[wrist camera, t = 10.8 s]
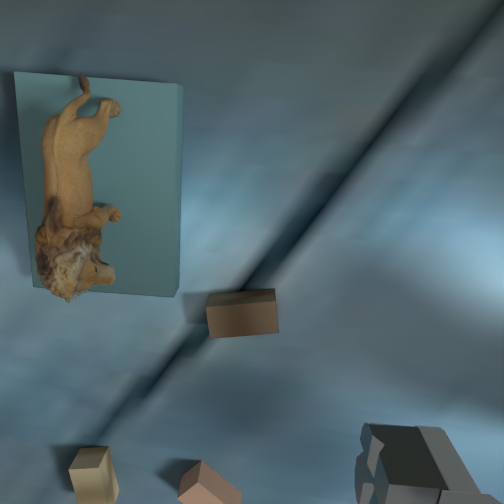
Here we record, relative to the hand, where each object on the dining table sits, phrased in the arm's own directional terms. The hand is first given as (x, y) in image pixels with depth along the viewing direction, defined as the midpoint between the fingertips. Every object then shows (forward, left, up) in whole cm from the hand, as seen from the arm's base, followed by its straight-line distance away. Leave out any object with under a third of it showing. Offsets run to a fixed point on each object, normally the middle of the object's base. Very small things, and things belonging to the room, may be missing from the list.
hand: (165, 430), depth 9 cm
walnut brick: (-1, +10, -28) cm, 30 cm away
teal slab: (+11, 0, -28) cm, 30 cm away
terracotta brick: (+1, +31, -28) cm, 42 cm away
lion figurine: (+11, -1, -26) cm, 28 cm away
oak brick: (+13, +30, -28) cm, 43 cm away
